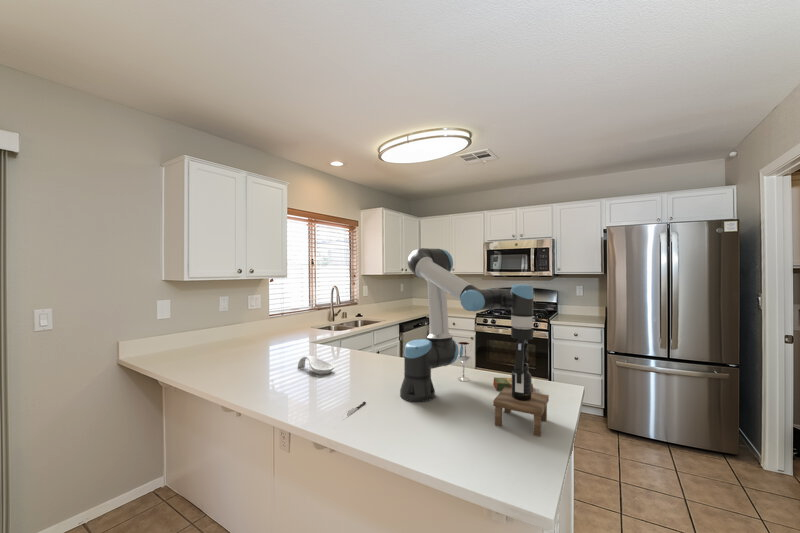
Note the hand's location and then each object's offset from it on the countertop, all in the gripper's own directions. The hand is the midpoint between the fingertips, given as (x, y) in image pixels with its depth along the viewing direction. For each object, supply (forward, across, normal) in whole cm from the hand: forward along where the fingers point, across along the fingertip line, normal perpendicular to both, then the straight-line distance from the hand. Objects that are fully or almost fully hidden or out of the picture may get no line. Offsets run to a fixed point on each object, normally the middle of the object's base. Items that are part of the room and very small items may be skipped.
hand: (521, 386), depth 125 cm
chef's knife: (+14, -20, +60) cm, 65 cm away
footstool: (+13, 0, 0) cm, 13 cm away
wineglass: (+13, +38, +32) cm, 51 cm away
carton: (+14, +35, +8) cm, 39 cm away
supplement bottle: (+4, 0, 0) cm, 4 cm away
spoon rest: (+14, +15, +106) cm, 108 cm away
